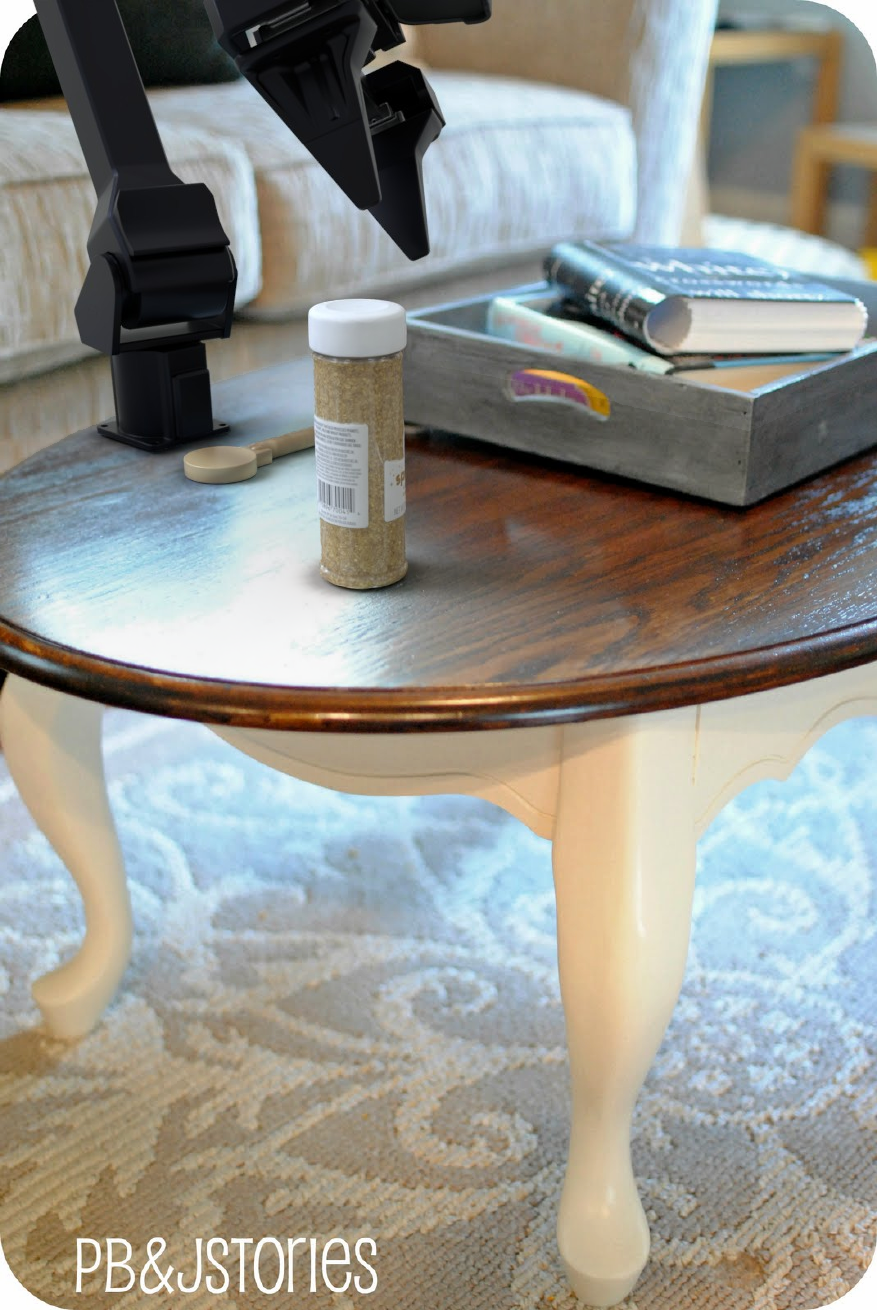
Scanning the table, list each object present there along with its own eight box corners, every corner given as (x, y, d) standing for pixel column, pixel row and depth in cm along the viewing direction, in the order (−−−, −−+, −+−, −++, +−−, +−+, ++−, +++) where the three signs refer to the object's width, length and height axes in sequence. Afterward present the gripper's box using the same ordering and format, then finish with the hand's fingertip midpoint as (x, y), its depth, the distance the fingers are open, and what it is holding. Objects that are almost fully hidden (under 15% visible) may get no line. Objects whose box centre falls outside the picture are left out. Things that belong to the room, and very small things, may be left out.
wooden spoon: (215, 489, 81) (214, 469, 80) (170, 472, 83) (168, 453, 83) (391, 435, 91) (390, 418, 90) (345, 422, 93) (344, 405, 93)
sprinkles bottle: (425, 579, 68) (425, 308, 62) (346, 599, 66) (338, 320, 60) (377, 551, 72) (373, 292, 66) (301, 569, 69) (289, 302, 64)
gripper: (392, -279, 54) (524, 88, 53) (483, -57, 72) (582, 218, 71) (147, -148, 56) (270, 204, 56) (294, 34, 74) (389, 301, 74)
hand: (397, 233), depth 64 cm, fingers open, 9 cm apart
